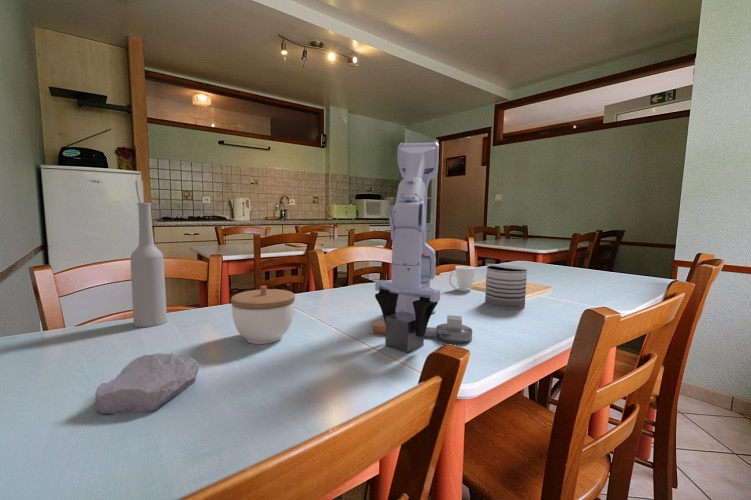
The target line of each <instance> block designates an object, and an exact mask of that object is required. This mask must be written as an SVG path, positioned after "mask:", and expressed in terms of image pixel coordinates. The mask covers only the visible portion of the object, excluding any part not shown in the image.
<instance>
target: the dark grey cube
mask: <svg viewBox="0 0 751 500" xmlns="http://www.w3.org/2000/svg"><path fill="white" fill-rule="evenodd" d="M384 337H385V338H384V339H385V342H384V346H386V347H388V348H392V349H395V350H397V351H400V352H403V353H406V354H409V353H411V352H413V351H414V350H416V349H419V348H421V347H423V346H424V342H425V339H424V338H425V337H424V335H423V336H420V337H418V336H416V317H415V314H413V313H408V312H404V311H401V312H398V313H397V312H395V314H392V315H389V316H386V333H385V336H384Z"/></svg>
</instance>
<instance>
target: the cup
mask: <svg viewBox="0 0 751 500" xmlns="http://www.w3.org/2000/svg"><path fill="white" fill-rule="evenodd" d="M454 267H455V270H452V271H451V272H450V274H449V276H448V282H449V285H450V286H451V287H452V288H453V289H455V290H457V291H461V290H463V292H469V291H472V289H471V288H472V286H473V283H474V277H475V273H476V267H474V266H470V265H458V266H457V265H456V266H454ZM454 273H455V274H456V275H455V276H456V278H455V279H456V282H457V283H456V284H457V287H458V288H457V287H455V286H454V285H453V284H452V276H453V274H454Z"/></svg>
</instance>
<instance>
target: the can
mask: <svg viewBox="0 0 751 500" xmlns="http://www.w3.org/2000/svg"><path fill="white" fill-rule="evenodd" d="M486 265H488V266H486V275H485V276H486V277H485V297H484V298H485V300H484V303H485V305H486V306H489V307H491V308H494V309H495V308H496V309H500V310H501V309H502V310H522V309H524V308H525V307H526V306H525V305H526V294H527V293H526V291H527V276H528V274H527V273H528V271H527V270H528V269H527V268H525V267H521V266H514V265H507V264H498V263H497V264H496V263H486Z"/></svg>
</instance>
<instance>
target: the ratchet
mask: <svg viewBox="0 0 751 500" xmlns="http://www.w3.org/2000/svg"><path fill="white" fill-rule="evenodd" d="M385 333H386V325H385V321H381V320H380V321H379V320H375V322H374V323H373V325H372V334H373V335H374V334H375V335H385ZM424 338H426V339H437V340H438V341H440V342H442V343H445V344H451V345H467V344H469V343H471V342H472V341H473V329H472V328H471V327H469V326H468V325H464V324H463V318H462V316H461V315H452V314H450V315H449V314H448V315H446V323H441V324H438V325H436V327H430V326H427V328H426V332H425V335H424Z"/></svg>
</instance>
